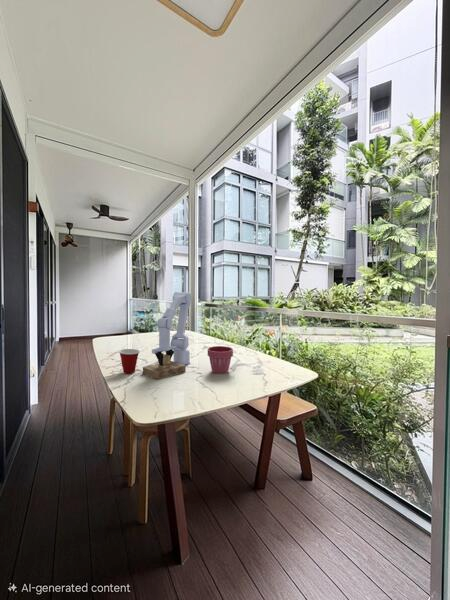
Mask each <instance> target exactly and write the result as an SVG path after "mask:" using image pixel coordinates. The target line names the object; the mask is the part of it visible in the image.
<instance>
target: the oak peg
mask: <svg viewBox="0 0 450 600" xmlns="http://www.w3.org/2000/svg"><path fill="white" fill-rule="evenodd" d="M160 367H161V368H166V367H170V355H167V354H166V353H165V354H164V355H163V365H162V366H160Z"/></svg>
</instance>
